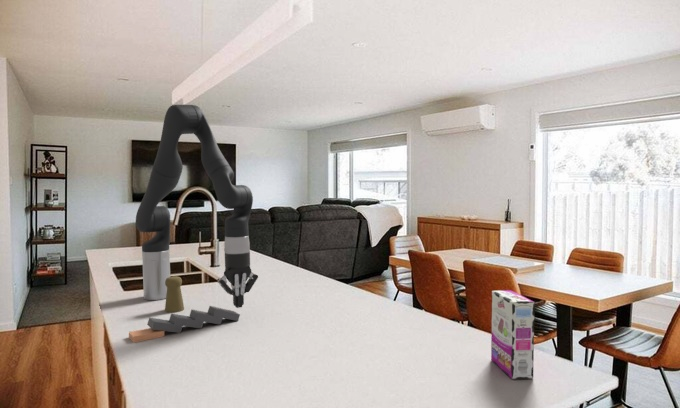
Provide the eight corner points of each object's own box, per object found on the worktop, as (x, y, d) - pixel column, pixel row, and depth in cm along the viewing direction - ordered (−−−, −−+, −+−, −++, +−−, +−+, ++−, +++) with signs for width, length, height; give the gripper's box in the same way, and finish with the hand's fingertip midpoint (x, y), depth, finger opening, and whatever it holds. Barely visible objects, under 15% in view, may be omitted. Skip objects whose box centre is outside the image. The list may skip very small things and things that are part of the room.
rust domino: (159, 333, 131) (129, 339, 127) (159, 326, 131) (128, 332, 126) (164, 337, 127) (133, 344, 123) (164, 330, 127) (133, 336, 122)
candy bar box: (535, 379, 97) (536, 301, 96) (512, 380, 96) (512, 302, 96) (511, 358, 108) (511, 288, 107) (490, 359, 108) (490, 289, 107)
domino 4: (231, 317, 144) (207, 312, 139) (233, 310, 144) (209, 305, 140) (237, 321, 140) (213, 316, 135) (240, 314, 140) (215, 309, 136)
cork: (177, 313, 149) (176, 279, 149) (160, 312, 151) (159, 278, 150) (187, 307, 155) (186, 275, 155) (171, 307, 156) (170, 274, 156)
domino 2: (195, 324, 137) (169, 320, 133) (197, 317, 138) (171, 313, 133) (201, 328, 133) (174, 324, 129) (203, 321, 134) (176, 317, 129)
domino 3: (214, 320, 141) (189, 316, 136) (216, 314, 141) (191, 309, 136) (220, 324, 137) (195, 320, 132) (222, 317, 137) (197, 313, 132)
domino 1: (174, 328, 134) (147, 324, 129) (177, 321, 134) (149, 317, 129) (180, 333, 130) (152, 329, 125) (182, 325, 130) (154, 321, 125)
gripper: (221, 254, 135) (222, 313, 136) (262, 250, 142) (263, 306, 143) (211, 251, 141) (213, 308, 142) (251, 247, 148) (253, 301, 149)
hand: (238, 306), depth 142 cm, fingers closed
